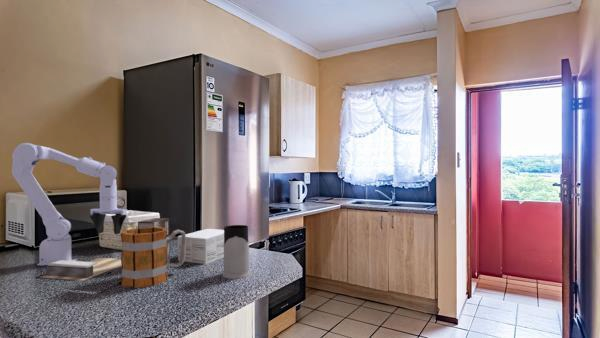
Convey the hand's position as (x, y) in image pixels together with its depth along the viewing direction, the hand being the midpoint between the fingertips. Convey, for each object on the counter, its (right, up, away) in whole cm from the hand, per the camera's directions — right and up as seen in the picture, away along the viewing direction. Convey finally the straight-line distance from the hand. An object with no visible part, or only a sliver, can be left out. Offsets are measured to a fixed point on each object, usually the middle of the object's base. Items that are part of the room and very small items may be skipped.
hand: (108, 233), depth 133 cm
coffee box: (+22, -9, -11) cm, 27 cm away
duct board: (+3, -9, -15) cm, 18 cm away
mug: (+28, -9, -25) cm, 39 cm away
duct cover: (+1, -6, -23) cm, 23 cm away
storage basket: (-3, -10, +21) cm, 23 cm away
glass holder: (+52, -9, -19) cm, 56 cm away
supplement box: (+37, -9, +1) cm, 38 cm away
